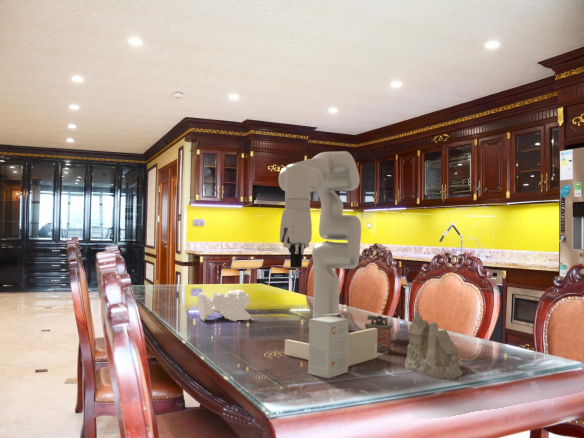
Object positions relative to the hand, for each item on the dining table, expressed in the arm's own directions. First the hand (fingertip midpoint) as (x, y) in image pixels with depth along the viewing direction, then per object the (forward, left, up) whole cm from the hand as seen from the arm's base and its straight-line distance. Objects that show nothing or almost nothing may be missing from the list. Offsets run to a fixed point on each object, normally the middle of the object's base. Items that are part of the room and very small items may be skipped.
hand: (295, 267), depth 146 cm
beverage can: (+1, +15, -24) cm, 28 cm away
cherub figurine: (-19, -53, -24) cm, 62 cm away
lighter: (-18, +18, -24) cm, 35 cm away
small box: (+15, +24, -24) cm, 37 cm away
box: (0, +14, -24) cm, 28 cm away
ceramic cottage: (-9, +41, -24) cm, 48 cm away
